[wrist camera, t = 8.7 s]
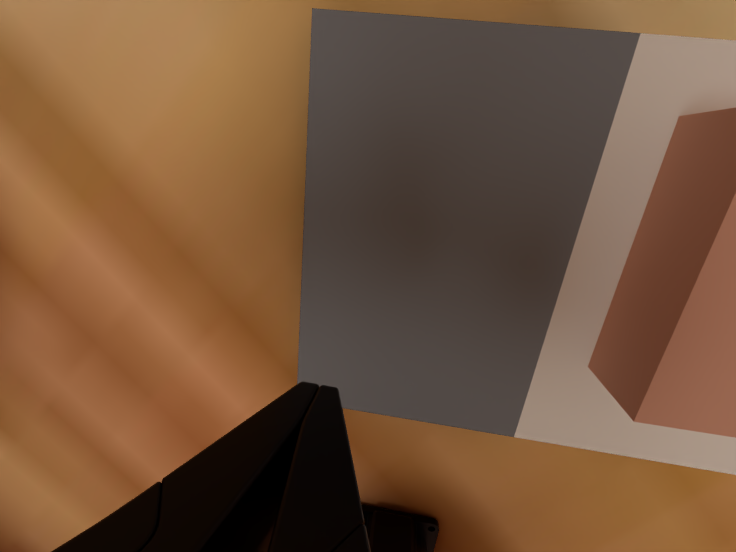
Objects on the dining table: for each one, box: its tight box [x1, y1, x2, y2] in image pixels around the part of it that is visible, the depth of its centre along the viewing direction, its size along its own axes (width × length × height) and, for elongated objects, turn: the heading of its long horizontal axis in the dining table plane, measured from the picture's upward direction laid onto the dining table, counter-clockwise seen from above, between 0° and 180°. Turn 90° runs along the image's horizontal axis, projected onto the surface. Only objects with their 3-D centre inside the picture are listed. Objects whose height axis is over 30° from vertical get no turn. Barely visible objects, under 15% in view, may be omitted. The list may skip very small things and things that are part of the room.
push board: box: [297, 8, 736, 475], centre depth 17 cm, size 20×29×1 cm
